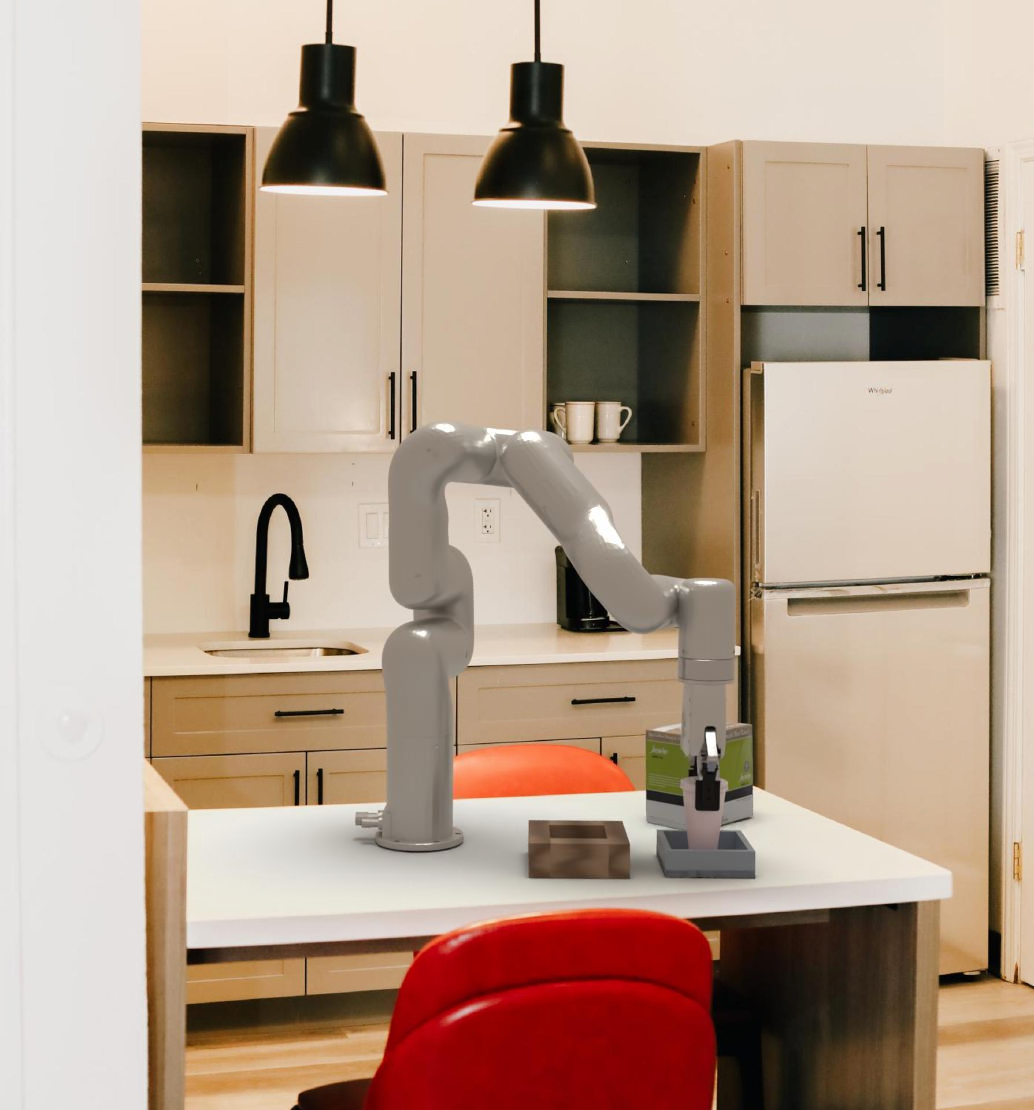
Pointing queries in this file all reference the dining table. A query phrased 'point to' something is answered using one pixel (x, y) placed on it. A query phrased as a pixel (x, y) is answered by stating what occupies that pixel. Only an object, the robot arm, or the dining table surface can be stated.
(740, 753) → the tea box
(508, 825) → the dining table surface
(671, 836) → the tray
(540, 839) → the socket holder
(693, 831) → the smoothie
